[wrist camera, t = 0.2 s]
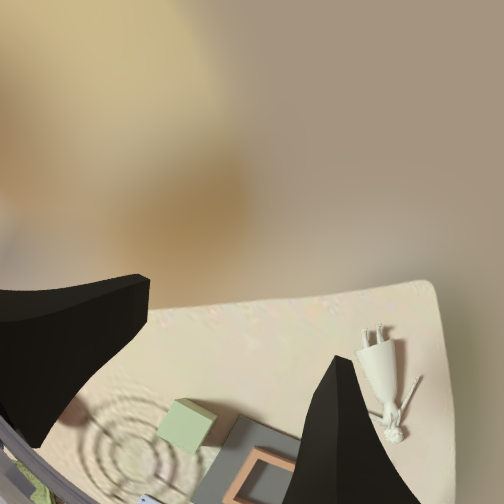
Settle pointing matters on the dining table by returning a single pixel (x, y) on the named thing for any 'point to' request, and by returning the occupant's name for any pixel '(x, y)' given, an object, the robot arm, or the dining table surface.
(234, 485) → the housing
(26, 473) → the washcloth
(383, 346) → the woman figurine
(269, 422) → the dining table surface
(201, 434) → the sage green cube
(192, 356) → the dining table surface
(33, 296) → the robot arm
